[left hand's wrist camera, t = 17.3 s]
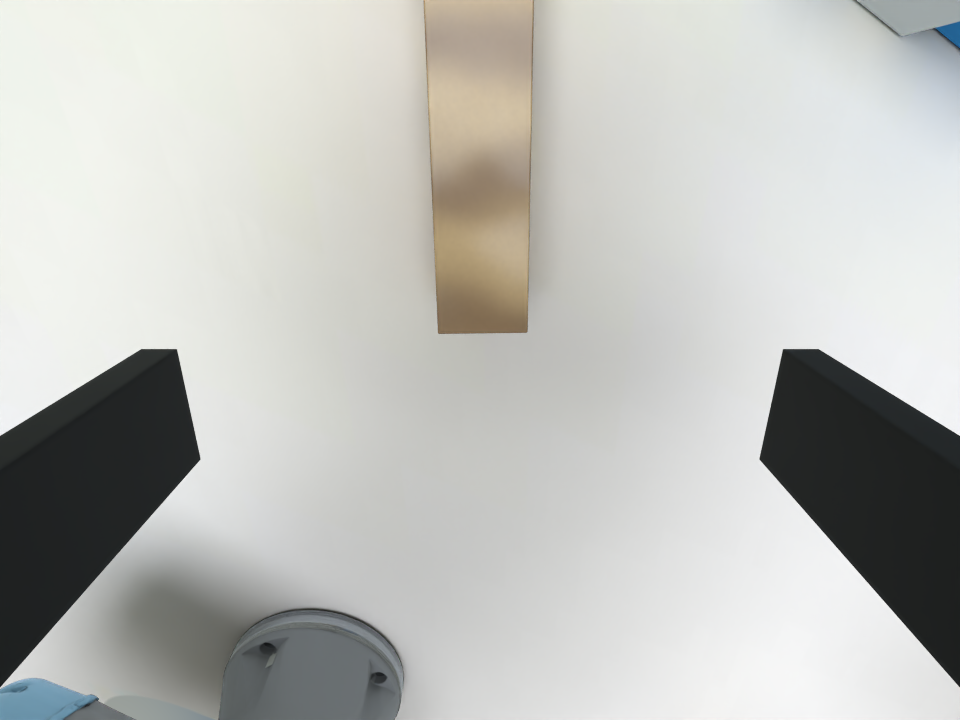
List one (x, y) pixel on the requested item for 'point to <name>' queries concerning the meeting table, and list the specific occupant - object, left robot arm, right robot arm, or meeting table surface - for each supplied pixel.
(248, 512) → the meeting table surface
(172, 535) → the meeting table surface
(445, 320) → the bar
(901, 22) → the logo
